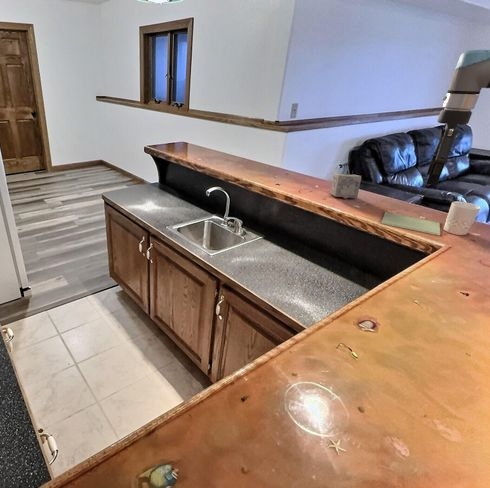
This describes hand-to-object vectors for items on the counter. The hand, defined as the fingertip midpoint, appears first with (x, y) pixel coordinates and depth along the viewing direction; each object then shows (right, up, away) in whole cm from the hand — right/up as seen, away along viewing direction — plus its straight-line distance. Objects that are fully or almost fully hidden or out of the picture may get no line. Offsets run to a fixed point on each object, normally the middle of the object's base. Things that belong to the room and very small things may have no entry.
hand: (431, 179), depth 113 cm
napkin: (+6, -13, +18) cm, 23 cm away
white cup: (+18, -16, +12) cm, 27 cm away
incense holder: (-6, 0, +45) cm, 46 cm away
